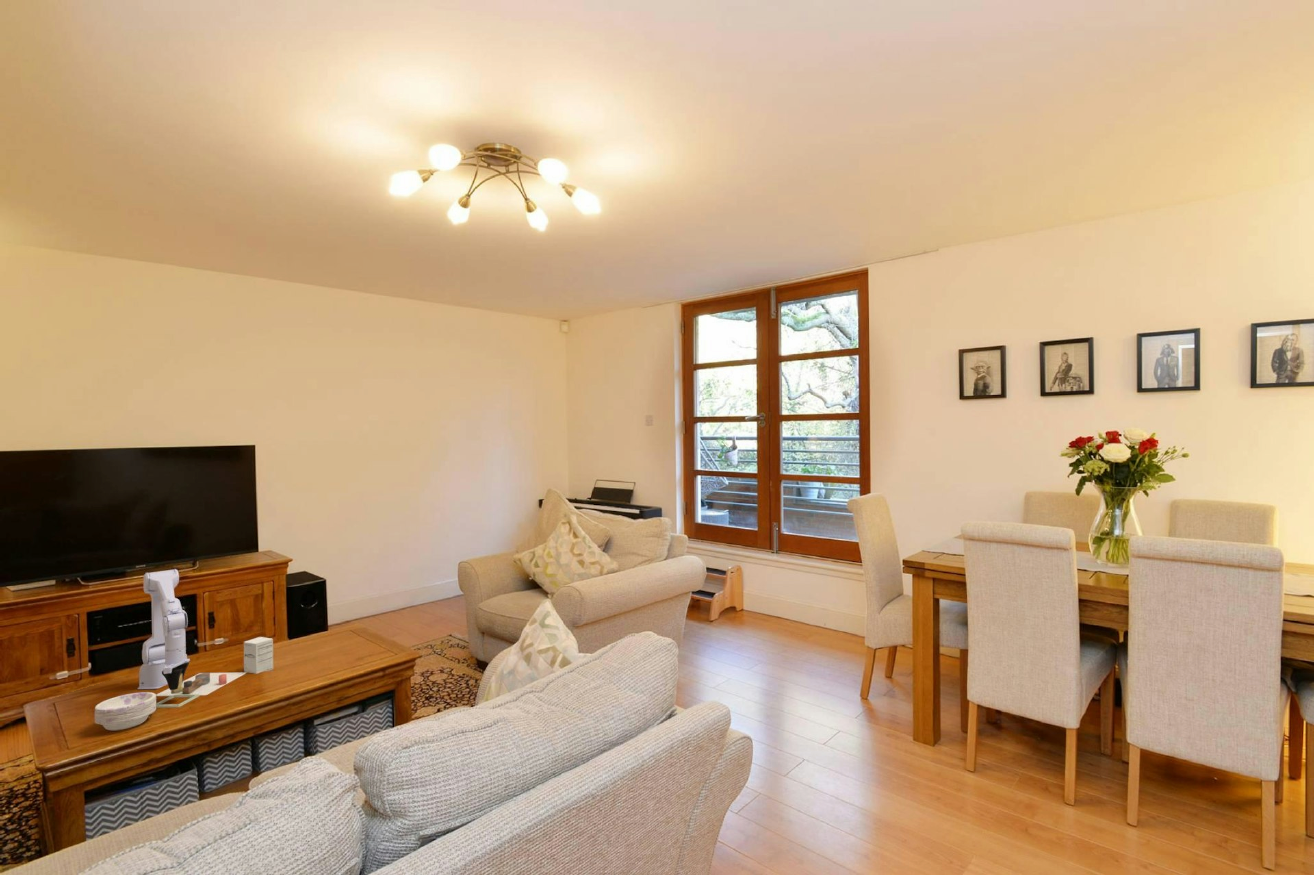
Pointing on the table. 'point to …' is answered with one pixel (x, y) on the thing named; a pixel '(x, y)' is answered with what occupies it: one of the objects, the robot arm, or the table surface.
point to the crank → (196, 683)
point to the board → (207, 687)
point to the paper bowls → (125, 710)
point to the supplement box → (258, 655)
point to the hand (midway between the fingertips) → (175, 687)
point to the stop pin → (180, 686)
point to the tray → (176, 704)
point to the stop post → (222, 679)
